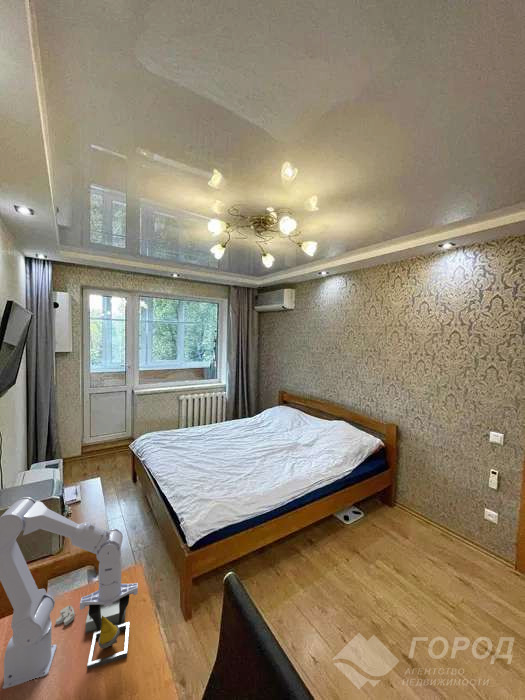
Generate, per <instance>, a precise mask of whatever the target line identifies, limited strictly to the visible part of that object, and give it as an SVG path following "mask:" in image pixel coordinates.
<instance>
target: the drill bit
mask: <svg viewBox="0 0 525 700" xmlns="http://www.w3.org/2000/svg"><path fill="white" fill-rule="evenodd" d="M100 630H101V632H100V637H99V638H98V640H97V641H98V646H99V648H100V649H107V648H109V647H110V646H111V647H113V645H114V644H117V643H118V640H117V639H118V637H119V636H120V633H121V632H120V630H119V627H118V626H117V625H113V624H112V623H111V622H110V621H109V620H107V619H106V618H105V617H104V616H102V621H101V629H100Z"/></svg>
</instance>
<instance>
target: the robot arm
mask: <svg viewBox="0 0 525 700" xmlns="http://www.w3.org/2000/svg"><path fill="white" fill-rule="evenodd" d="M39 530H43V531H47V532H49V533H53V534H56V535H59V536H63V537H66V538H69V539H70V542H71V545H72V546H73V547H77V548H79V549H81V550H84V551H86V552H89V553H92V554H94V555H96V556H95V557H96V560H97V561H98V562H99V563H98V589H97V590H96V591H94V592H92V593H90V594H88V595H85V596H81V599H80V601H79V610H80V611H81V610H83V609H85V608H86V607H88V610H89V612H88V611H87V614H88V613H89V616H90V617H91V618H92V619H93V621H94V622H95V625H96V628H97V631H100V630H101V629H100V626H101V604H104V607H108V606H111V605H112V604H113V602H114V601H116V600H118V599H120V602H119V624H118V625H120V624H121V623H122V617H123V614H124V611H125V609H126V610H127V607H128V605H129V602H130V595H132V594H133V596H135V595H138V592H139V591H138V590H139V587H138V586H139V583H138V582H135V583H122V549H121V548H122V544H123V540H124V539H123V533H122V531H120V530H119V529H117V528H110V529H104V528H102V527H100V526H97V525H96V523H95V522H92V521H91V522H88V521H84V522H82V523H77V522H75V521H73V520H71V519H69V518H68V517H66V516H63V515H62V514H60V513H57V512H56V511H54V510H51V509H50V508H48V507H47V506H46V505H45V503H43V502H42V501H39V500H36V499H34V498H32V497H30V496H24V497H20V498H18V499H16V500H15V501H13V503H12V504H11V505H10V507H8V509H6V510H5V512H4V513H2V514H1V516H0V583H1V585H2V587H3V589H4V591H5V593H6V596H7V598H8V600H9V602H10V604H11V606H12V608H13V613H12V618H11V626H10V627H11V629H12V637H10V639H9V641H8V643H7V646H6V648H5V649H6V650H5V653H4V658H3V684H2V689H3V690H5V689H8V688H11V687H15V686H17V685H21V684H24V682H25V683H28V682H30V681H29V680H31V681H33V680H32V679H34V680H36V679H35V678H37V679H39V677H40V678H42V677H45V676H47V675H48V674H49V672H50V669H51V665H52V662H53V659H54V657H55V653H56V650H57V646H58V645H57V644H55V643H54V644H52V634H53V633H52V631H53V629H52V626H53V625H52V623H53V622H52V620H51V614H52V611H53V610H54V608H55V604H56V600H55V598H54V597H53V596H52V595H50V594H48V592H47V591H46V589H45V588H40V589H39V587H38V586H37V584H36V581H35V579H34V577H33V575H32V573H31V570H30V569H29V566H28V564H27V561H26V559H25V556H24V554H23V552H22V551H21V548H20V546H19V544H18V542H17V538H18V536H19V535H20V533H21V532H22V531H23V534H22V536H27V535H28V534H31V533H33V532H36V531H39ZM122 624H123V623H122ZM97 631H96V632H97ZM27 681H28V682H27Z"/></svg>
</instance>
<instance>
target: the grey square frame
mask: <svg viewBox="0 0 525 700" xmlns="http://www.w3.org/2000/svg"><path fill="white" fill-rule="evenodd" d="M117 626H118V627H119V630H120V633H121V632H124V631H125V635H124V636H125V637H124V647H123V649H124V650H123V651H119V652H117V653H114V654H111V655H110V654H109V655H107V656H105V657H101V658H99V659H96V660H93V659H94V652H95V648H96V642H97V639H99V637H100V632H101V629H100V630H99V631H93V635H92V640H91V641H92V642H91V646H90V650H89V655H88V661H87V664H86V665H87V667H86V669H87V671H89V670H91V669H94V668H97V667H101V666H105V665H108V664H110V663H114V662H117V661H119V660H122V659H126V658H128V651H129V636H130V621H128V622H125V623H122V624H118V625H117Z"/></svg>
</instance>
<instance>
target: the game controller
mask: <svg viewBox="0 0 525 700" xmlns="http://www.w3.org/2000/svg"><path fill="white" fill-rule="evenodd" d="M75 611H77V609H74V607H73V605H67V606H65V607H64V608H62V609H60V611H59V613H60V616H59V617H58V618H56V619H55V624H56V625H60V624H62V623H64V626H68V625H69V624H70V623H71V622H72V621H73V620H75V617H76V613H75Z"/></svg>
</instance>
